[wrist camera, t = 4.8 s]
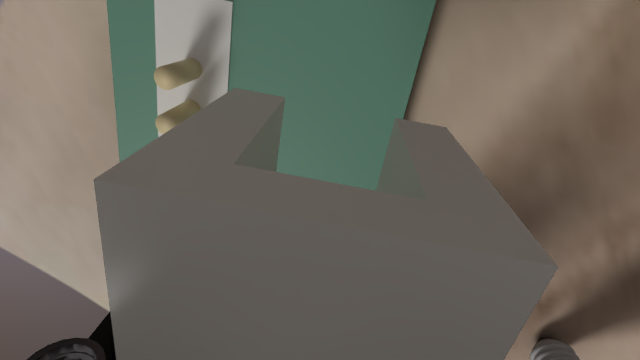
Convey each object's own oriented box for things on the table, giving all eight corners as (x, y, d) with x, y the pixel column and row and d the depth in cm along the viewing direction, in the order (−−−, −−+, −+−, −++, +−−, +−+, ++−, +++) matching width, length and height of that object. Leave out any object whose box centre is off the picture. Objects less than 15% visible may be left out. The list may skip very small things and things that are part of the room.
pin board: (116, -93, 20) (45, -125, 15) (439, -31, 20) (465, -45, 15) (135, 215, 28) (94, 254, 24) (360, 258, 28) (361, 305, 24)
